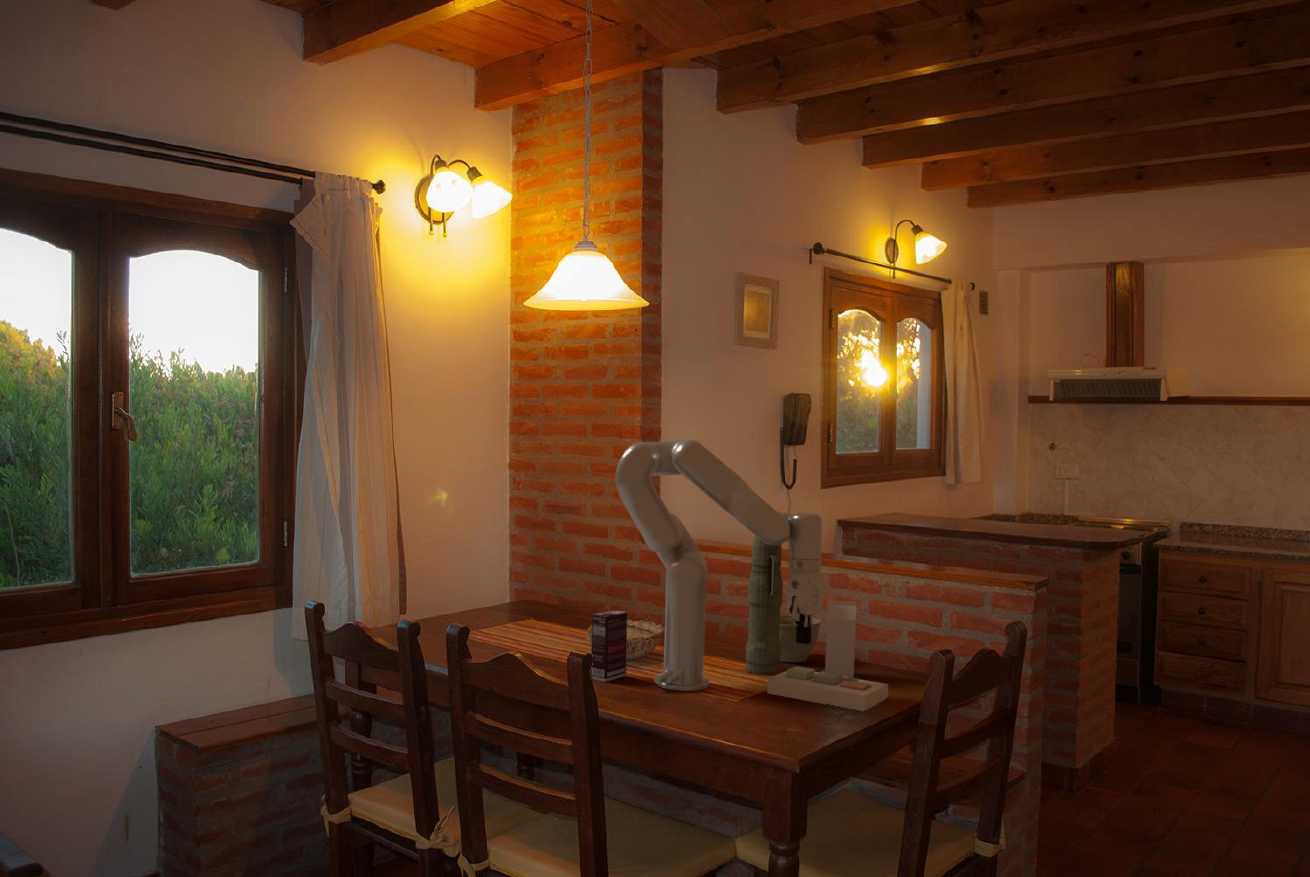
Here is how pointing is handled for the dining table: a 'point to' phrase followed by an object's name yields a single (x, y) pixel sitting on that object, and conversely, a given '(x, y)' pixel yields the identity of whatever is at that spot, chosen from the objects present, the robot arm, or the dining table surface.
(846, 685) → the terracotta key
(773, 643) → the thermos
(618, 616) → the supplement box
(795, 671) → the sage key
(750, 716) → the dining table surface
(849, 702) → the keypad
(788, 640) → the planter bowl
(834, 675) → the grey key
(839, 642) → the milk carton
